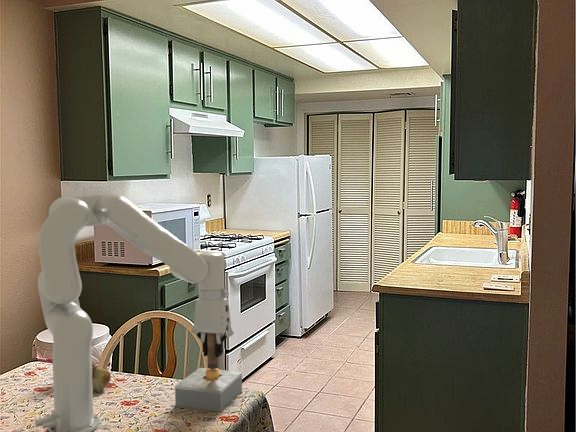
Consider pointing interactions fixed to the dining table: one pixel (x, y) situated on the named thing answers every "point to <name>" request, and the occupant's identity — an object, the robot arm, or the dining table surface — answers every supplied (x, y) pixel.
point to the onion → (100, 378)
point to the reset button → (212, 374)
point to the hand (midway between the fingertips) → (212, 354)
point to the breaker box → (208, 390)
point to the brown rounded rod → (211, 351)
